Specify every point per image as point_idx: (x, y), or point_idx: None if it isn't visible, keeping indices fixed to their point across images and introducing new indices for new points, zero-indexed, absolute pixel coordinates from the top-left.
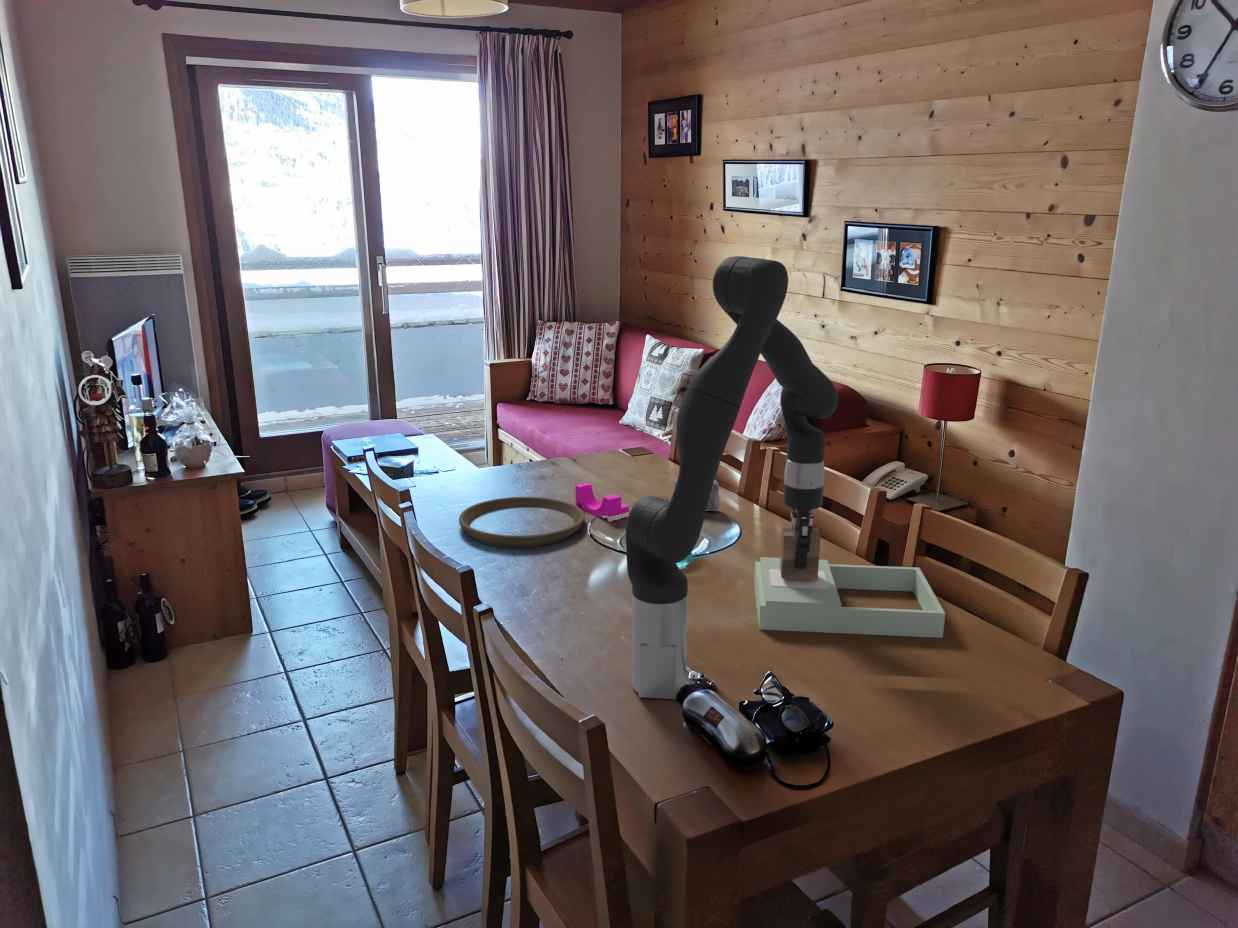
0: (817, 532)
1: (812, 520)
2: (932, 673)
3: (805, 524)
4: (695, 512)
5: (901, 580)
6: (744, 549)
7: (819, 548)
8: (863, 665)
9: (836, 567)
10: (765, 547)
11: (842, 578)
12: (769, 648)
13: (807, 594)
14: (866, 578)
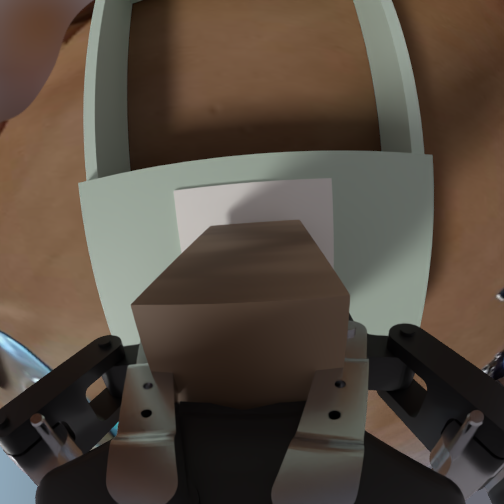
0: (235, 317)
1: (355, 485)
2: (477, 45)
3: (490, 475)
4: None
5: (119, 11)
6: (32, 335)
7: (325, 259)
8: (488, 141)
9: (98, 152)
10: (12, 300)
11: (114, 135)
12: (449, 302)
13: (380, 253)
14: (112, 77)
